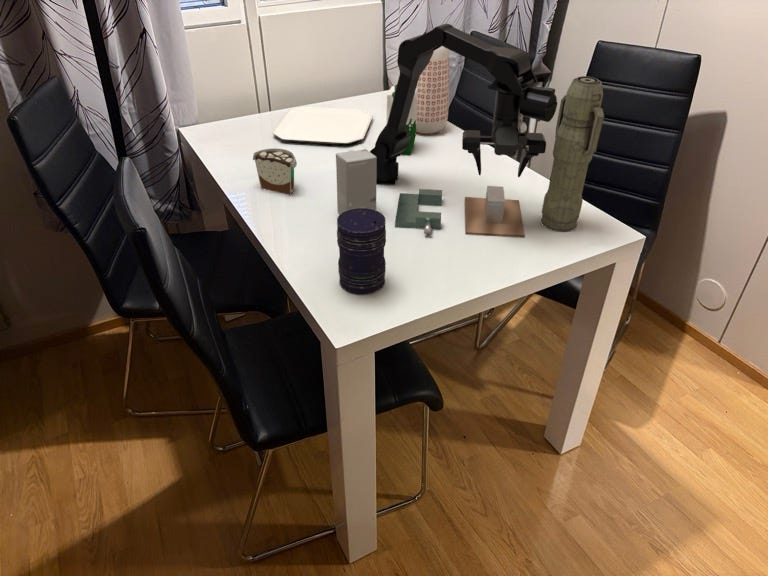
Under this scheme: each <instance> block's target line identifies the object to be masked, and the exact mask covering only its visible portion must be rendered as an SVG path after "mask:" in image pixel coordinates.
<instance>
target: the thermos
mask: <svg viewBox="0 0 768 576" xmlns="http://www.w3.org/2000/svg"><path fill="white" fill-rule="evenodd" d="M603 97H604V90H603V81H601V80H599V79H598V78H596V77H594V76H586V75H583V76H577V77H575V78H573V79H572V81H571V83H570V84H569V87H568V89H567V91H566V94H564V96H563V97H562V98H561V99H560V104H559V109H558V115H557V121H556V127H555V137H554V138H555V139H554V140H555V141H554V144H553V150H552V156H553V161H552V167H551V173H550V178H549V182H548V183H549V184H548V189H547V191H546V193H545V194H544V198H543V203H542V209H541V219H540V223H541V225H542V224H543V225H542V226H543V227H544V228H546V229H548V230H551V231H553V232H557V233H559V232H561V233H566V232H567V233H568V232H571V230H572V231H574V230H575V229H576V228H577V224H578V220H579V218H580V216H581V215H580V214H581V211H582V204H583V195H582V194H583V191H584V186H585V185H584V184H585V183H586V182H585V181H586V177H587V172H588V168H589V164H590V162H591V161H592V160H593V155H594V153H596V152H597V149H598V148H597V147H598V142H599V139H600V134H601V131H602V127H603V123H604V120H605V114H604V108H602V107H601V106H602V102H603Z"/></svg>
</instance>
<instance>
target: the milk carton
mask: <svg viewBox="0 0 768 576" xmlns="http://www.w3.org/2000/svg"><path fill="white" fill-rule="evenodd" d="M396 87H397V84H395V85H394V86H393V85H392V86H391V87H390V88H389V91H388V93H387V94H386V95H387V96H386V122H385V123H386V125H387V122H388V118H389V114H390V110H391V106H392V102H393V98H394V95H395V91H396ZM417 104H418V97H417V88H416V90H415V94H414V98H413V101H412V105H411V108H410V112H409V116H408V119H407V123H406V130H407V133H409V134H411V138H410V140H409V147H408V148H406V149H405V150H404V151H403V152H402V153H401V156H402V155H403V156H411V155H412V152H413V149H414V147H415V143H416V136H417V133H416V130H417ZM386 125H385V126H386Z"/></svg>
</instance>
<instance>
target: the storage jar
mask: <svg viewBox="0 0 768 576" xmlns="http://www.w3.org/2000/svg"><path fill="white" fill-rule="evenodd" d="M336 225H337V227H336V238H337V239H336V241H337V246H338V250H339V252H338V253H339V257H338V262H337V263H338V264H337V265H338V267H337V268H338V277H339V286H340V287H341V289H342V290H343V291H345V292H347V293H348V294H352V295H358V296H366V295H372V294H375V293H377V292H379V291H381V289H383V288H384V286H385V283H386V282H385V281H386V280H385V279H386V278H385V277H386V268H387V267H386V265H387V263H386V257H385V247H386V243H387V238H386V237H387V229H386V216H385V215H384V214H383V213H382V212H380V211H378V210H377V209H376V210H373V209H367V208H356V209H351V210H347V211H345V212H343V213H341V214H339V215H338V216H337V218H336Z"/></svg>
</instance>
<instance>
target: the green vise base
mask: <svg viewBox="0 0 768 576" xmlns="http://www.w3.org/2000/svg"><path fill="white" fill-rule="evenodd" d="M397 201H398V202H397V208H396V213H395V220H394V227H395V228H404V229H405V228H408V229H409V228H410V229H420V230H421V229H423V230H424V231H423V233H424V235H427V236H429V235H431V233H432V230H439V231H441V225H442V212H435V211H434V212H433V211H432V212H431V211H419V209H418V208H419V205H420V206H432V207H433V206H436V207H437V206H438V207H442V205H443V204H442V201H443V189H430V188H429V189H427V188H418V193H409V192H408V193H403V192H399V195H398V200H397Z"/></svg>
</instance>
